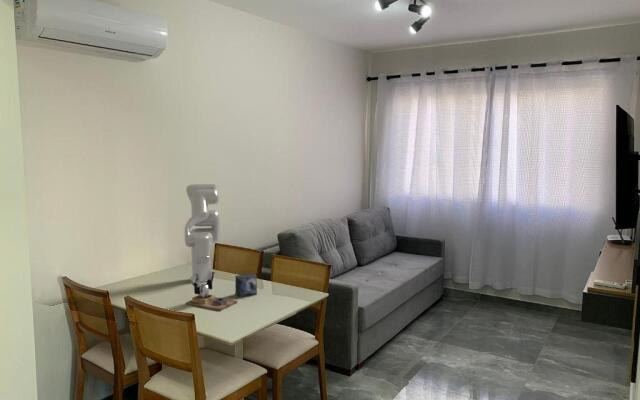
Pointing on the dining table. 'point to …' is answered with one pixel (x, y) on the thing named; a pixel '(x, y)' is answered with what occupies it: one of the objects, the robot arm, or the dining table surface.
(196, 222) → the robot arm
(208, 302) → the fitting board
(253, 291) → the small box
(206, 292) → the pipe fitting
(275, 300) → the dining table surface
